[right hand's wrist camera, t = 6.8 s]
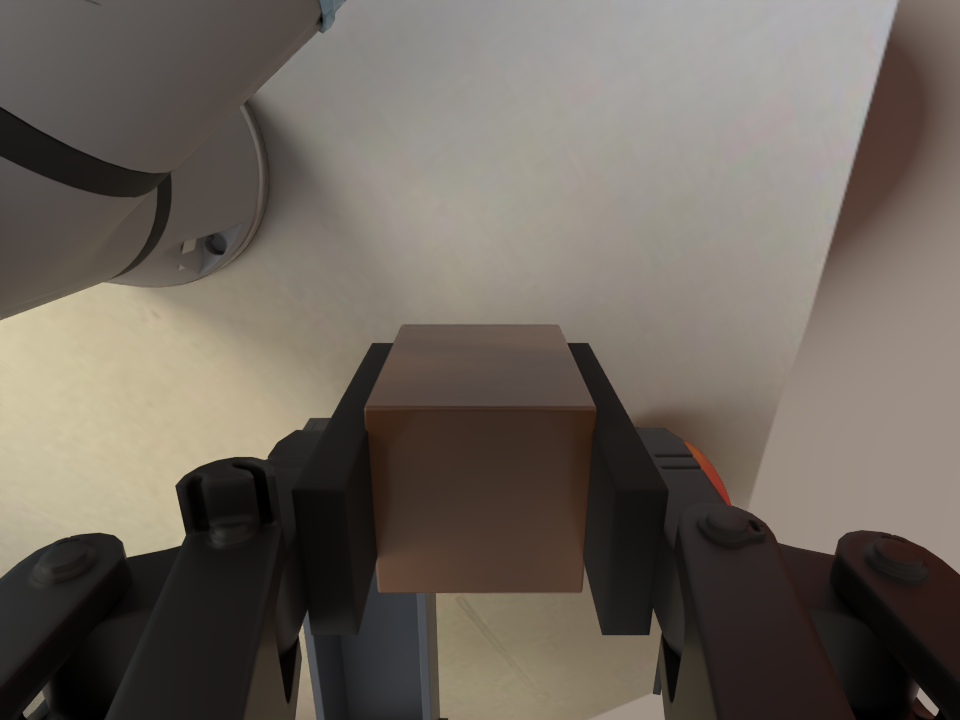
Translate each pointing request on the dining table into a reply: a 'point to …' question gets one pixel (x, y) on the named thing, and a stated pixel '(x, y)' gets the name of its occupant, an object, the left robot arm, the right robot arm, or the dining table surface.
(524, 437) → the walnut block
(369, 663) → the grey trough
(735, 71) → the dining table surface
